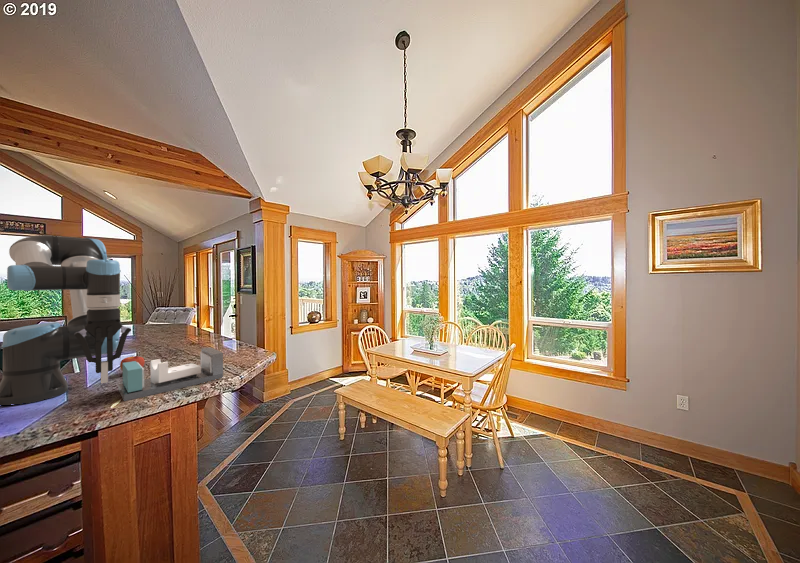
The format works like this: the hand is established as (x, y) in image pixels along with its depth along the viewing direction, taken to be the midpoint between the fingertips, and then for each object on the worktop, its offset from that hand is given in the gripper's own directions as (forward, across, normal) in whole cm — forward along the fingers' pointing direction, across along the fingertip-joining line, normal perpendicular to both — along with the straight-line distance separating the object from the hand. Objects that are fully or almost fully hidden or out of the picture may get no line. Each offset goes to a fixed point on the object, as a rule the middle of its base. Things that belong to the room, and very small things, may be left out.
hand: (104, 382), depth 94 cm
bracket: (+4, +19, 0) cm, 19 cm away
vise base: (+6, +18, 0) cm, 19 cm away
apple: (+6, +10, +27) cm, 29 cm away
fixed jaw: (+4, +30, +1) cm, 30 cm away
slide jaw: (+3, +7, 0) cm, 8 cm away
